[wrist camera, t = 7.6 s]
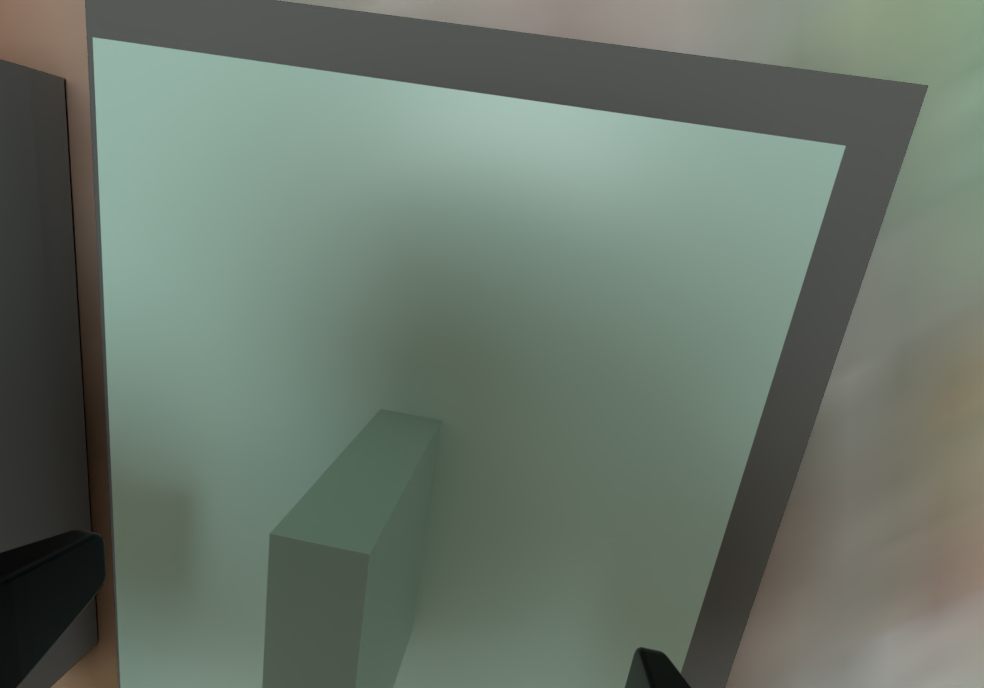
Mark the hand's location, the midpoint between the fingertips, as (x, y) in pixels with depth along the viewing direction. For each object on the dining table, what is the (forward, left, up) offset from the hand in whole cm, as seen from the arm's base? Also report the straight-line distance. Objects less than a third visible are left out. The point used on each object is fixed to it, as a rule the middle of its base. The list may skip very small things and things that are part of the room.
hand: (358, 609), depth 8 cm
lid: (0, 0, -4) cm, 4 cm away
